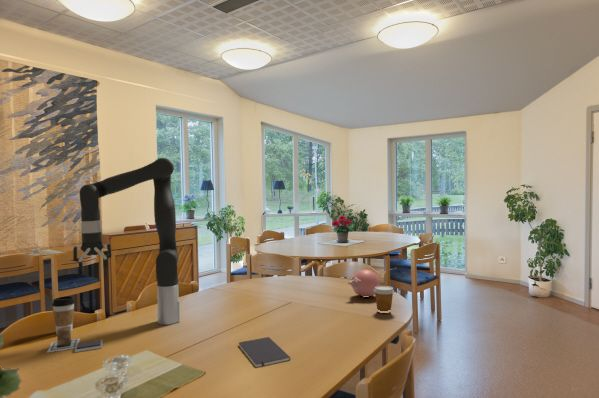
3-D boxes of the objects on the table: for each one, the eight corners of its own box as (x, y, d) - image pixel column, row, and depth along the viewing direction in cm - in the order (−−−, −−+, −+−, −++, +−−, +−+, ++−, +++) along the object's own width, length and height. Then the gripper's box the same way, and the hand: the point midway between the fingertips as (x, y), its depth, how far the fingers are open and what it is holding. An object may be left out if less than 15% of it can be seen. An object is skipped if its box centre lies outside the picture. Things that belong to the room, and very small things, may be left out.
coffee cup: (49, 336, 159) (48, 301, 159) (56, 329, 168) (55, 295, 167) (72, 334, 162) (71, 299, 161) (78, 327, 170) (77, 294, 170)
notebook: (290, 361, 135) (268, 340, 154) (290, 357, 135) (268, 336, 154) (256, 369, 130) (238, 346, 149) (256, 364, 130) (238, 342, 149)
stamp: (71, 341, 153) (71, 326, 153) (70, 345, 149) (69, 329, 149) (58, 343, 151) (58, 327, 151) (56, 348, 147) (56, 331, 147)
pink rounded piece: (339, 297, 215) (339, 269, 215) (367, 292, 225) (367, 266, 224) (356, 303, 202) (356, 274, 201) (385, 298, 211) (385, 270, 211)
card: (80, 339, 157) (80, 338, 157) (77, 348, 148) (77, 347, 148) (51, 343, 152) (51, 342, 152) (46, 352, 143) (46, 351, 143)
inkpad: (102, 342, 153) (102, 338, 153) (101, 348, 147) (101, 344, 147) (76, 346, 149) (76, 342, 149) (74, 352, 144) (74, 348, 144)
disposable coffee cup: (392, 309, 192) (392, 285, 191) (395, 315, 182) (395, 290, 182) (373, 309, 193) (373, 285, 192) (375, 315, 183) (374, 290, 183)
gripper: (110, 229, 169) (112, 265, 170) (72, 232, 163) (74, 270, 163) (110, 230, 162) (112, 268, 163) (71, 233, 156) (73, 273, 157)
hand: (93, 269), depth 163 cm, fingers open, 8 cm apart
